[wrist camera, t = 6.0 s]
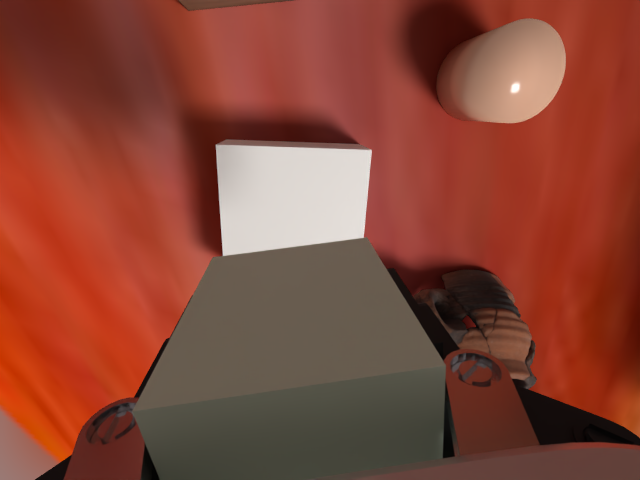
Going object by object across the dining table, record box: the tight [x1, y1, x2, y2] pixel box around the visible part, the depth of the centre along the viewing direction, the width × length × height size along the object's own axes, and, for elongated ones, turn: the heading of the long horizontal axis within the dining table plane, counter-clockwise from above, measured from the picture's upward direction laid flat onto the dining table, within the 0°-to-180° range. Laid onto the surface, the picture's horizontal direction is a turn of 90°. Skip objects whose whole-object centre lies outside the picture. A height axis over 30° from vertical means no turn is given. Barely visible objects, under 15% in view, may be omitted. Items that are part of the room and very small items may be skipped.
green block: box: [132, 237, 446, 480], centre depth 9 cm, size 5×5×6 cm
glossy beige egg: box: [436, 19, 566, 123], centre depth 20 cm, size 5×5×5 cm
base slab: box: [216, 139, 372, 256], centre depth 23 cm, size 9×9×4 cm
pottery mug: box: [413, 269, 537, 389], centre depth 27 cm, size 12×10×8 cm
